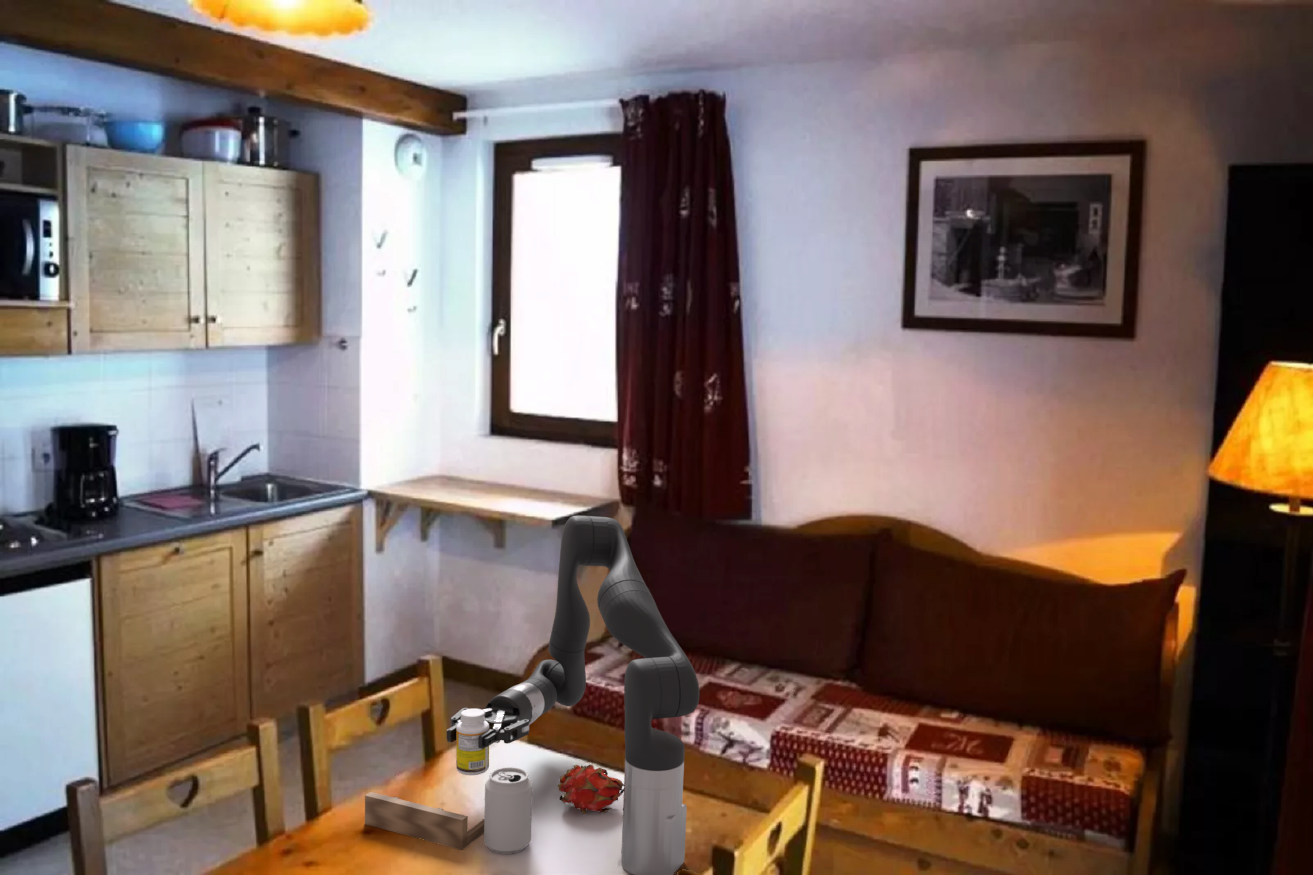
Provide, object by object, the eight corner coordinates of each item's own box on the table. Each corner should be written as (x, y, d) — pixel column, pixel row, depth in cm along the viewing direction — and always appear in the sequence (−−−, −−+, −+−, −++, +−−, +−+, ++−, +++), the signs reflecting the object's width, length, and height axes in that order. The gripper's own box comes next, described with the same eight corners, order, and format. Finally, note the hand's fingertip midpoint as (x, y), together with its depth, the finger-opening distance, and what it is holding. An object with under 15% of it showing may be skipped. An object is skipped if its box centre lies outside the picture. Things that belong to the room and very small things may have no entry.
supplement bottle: (469, 761, 192) (469, 704, 191) (495, 767, 189) (496, 710, 188) (449, 772, 187) (449, 714, 186) (475, 779, 184) (476, 720, 183)
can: (522, 859, 173) (524, 786, 172) (476, 853, 174) (478, 780, 173) (536, 837, 180) (538, 767, 179) (493, 831, 182) (494, 762, 180)
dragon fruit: (551, 814, 192) (618, 825, 193) (554, 805, 185) (624, 816, 185) (559, 765, 196) (625, 776, 197) (562, 754, 189) (631, 765, 190)
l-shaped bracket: (488, 829, 182) (489, 800, 182) (462, 850, 175) (462, 820, 174) (394, 805, 190) (394, 777, 189) (364, 824, 182) (364, 795, 182)
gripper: (482, 682, 203) (428, 711, 187) (550, 694, 197) (501, 725, 182) (481, 722, 204) (428, 753, 188) (550, 735, 198) (501, 769, 183)
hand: (464, 739), depth 185 cm, fingers closed on supplement bottle, 5 cm apart
